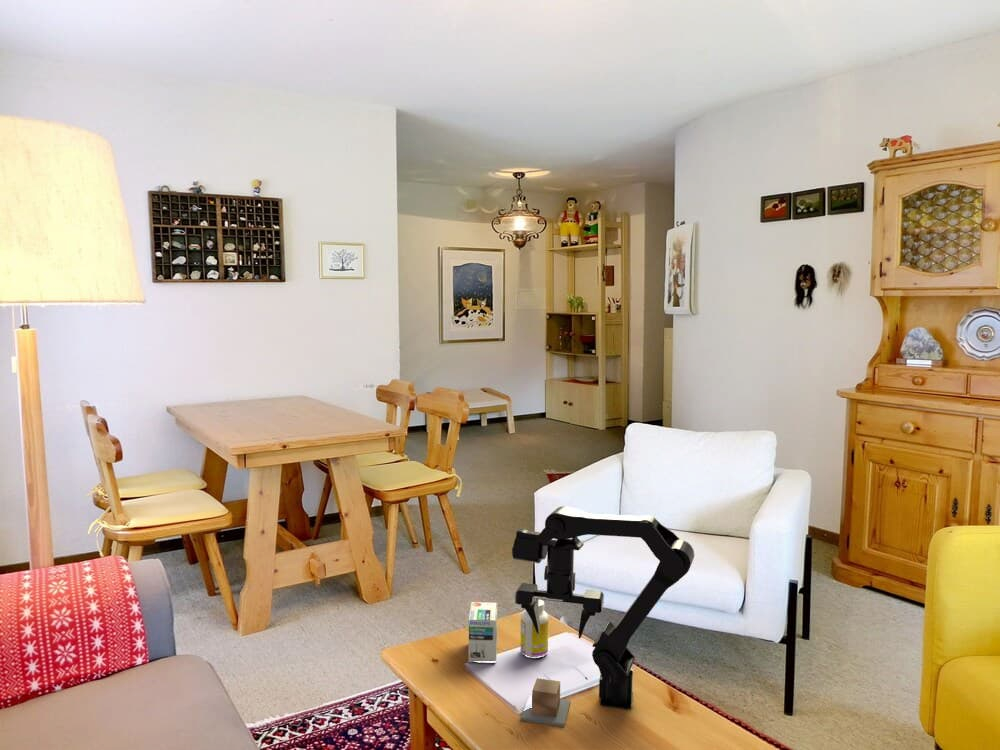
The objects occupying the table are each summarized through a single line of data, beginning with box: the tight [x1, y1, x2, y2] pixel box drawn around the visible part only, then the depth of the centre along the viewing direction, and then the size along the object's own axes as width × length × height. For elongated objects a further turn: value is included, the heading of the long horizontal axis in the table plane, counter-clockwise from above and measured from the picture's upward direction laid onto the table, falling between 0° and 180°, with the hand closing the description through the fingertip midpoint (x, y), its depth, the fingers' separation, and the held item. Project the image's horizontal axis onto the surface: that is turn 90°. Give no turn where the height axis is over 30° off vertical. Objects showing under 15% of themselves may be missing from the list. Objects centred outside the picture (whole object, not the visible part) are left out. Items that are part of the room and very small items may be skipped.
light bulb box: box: [468, 601, 498, 663], centre depth 173 cm, size 11×7×11 cm, turn 179°
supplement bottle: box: [520, 599, 549, 657], centre depth 173 cm, size 7×7×13 cm
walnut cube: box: [531, 677, 561, 717], centre depth 148 cm, size 5×5×5 cm
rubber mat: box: [519, 698, 571, 728], centre depth 148 cm, size 9×9×1 cm
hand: (558, 635), depth 157 cm, fingers open, 9 cm apart
